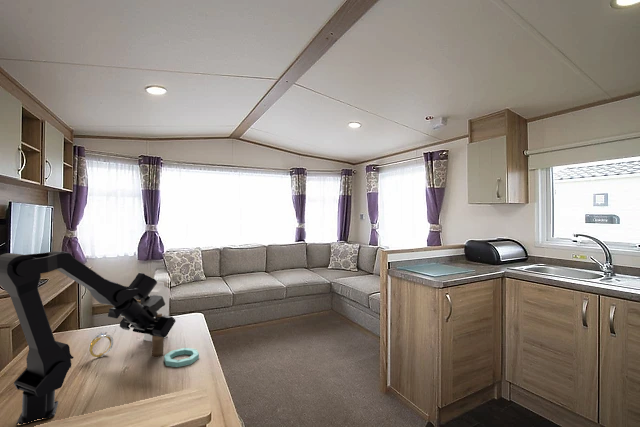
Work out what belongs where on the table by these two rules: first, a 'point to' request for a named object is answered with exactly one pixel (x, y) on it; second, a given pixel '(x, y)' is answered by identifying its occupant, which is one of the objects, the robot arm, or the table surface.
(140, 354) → the table surface
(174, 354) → the teal faceted ring
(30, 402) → the robot arm
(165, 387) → the table surface
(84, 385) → the table surface
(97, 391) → the table surface
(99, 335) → the ring
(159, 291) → the milk
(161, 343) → the brown peg
